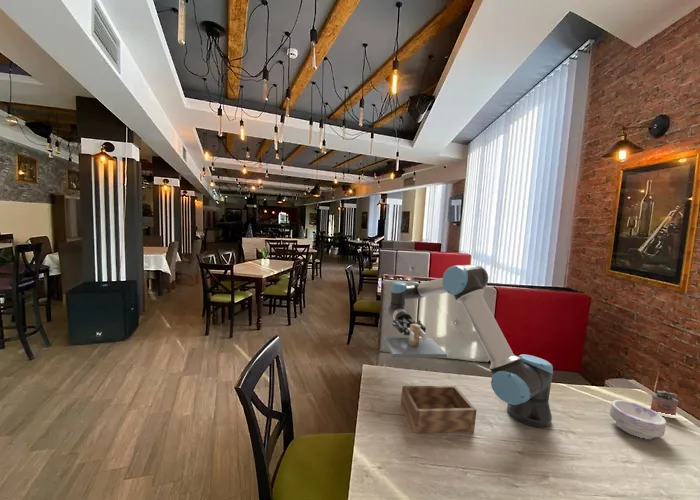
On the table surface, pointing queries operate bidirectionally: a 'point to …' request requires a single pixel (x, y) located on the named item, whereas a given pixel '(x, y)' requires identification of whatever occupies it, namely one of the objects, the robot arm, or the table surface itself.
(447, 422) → the brown wooden open box
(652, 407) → the lighter
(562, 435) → the table surface
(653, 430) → the paper bowls
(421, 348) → the lid
